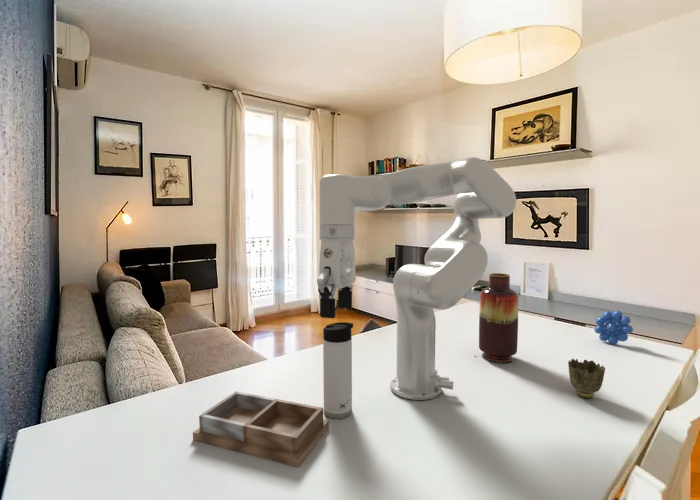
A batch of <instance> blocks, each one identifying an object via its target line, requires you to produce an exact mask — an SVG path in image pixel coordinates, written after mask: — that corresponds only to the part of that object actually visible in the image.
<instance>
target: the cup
mask: <svg viewBox="0 0 700 500" xmlns="http://www.w3.org/2000/svg"><path fill="white" fill-rule="evenodd" d="M578 360H579V359H578V358H576V359H574V358H571V359H569V360H568V362H567V363H568V374H569V381H570V384H571V385H572V386H573V388H574V389H575V393H576V395H577V396H578V397H580V398H582V399H587V400H591V399H593V398H594V397H595V393H597V392H599V391H600V390H601V388H602V386H603V382H604V377H605V372H606V367H605V366H604V365H603V364H602V365H600V363H599V362H598V363H596V362H595V361H593V360H587V359H584V360H583V362H582V361H578Z"/></svg>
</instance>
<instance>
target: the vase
mask: <svg viewBox="0 0 700 500" xmlns="http://www.w3.org/2000/svg"><path fill="white" fill-rule="evenodd" d="M488 276H489V277H488V278H489V279H488V287H486V288H484V289H482V290H481V291H480V293H479V316H478V319H479V320H478V322H479V323H478V348H479V350H481V352H483V353H482V354H481V357H482V358H483V359H484V360H486V361H488V362H491V363H494V364H495V363H497V364H509V363H510V364H511V363H512V362H513V361H514V357H513V356H514V355H516V354H517V352H518V338H519V337H518V334H519V302H520V301H519V298H520V297H519V294H518V293H517V291H515V290H514V289H512V288H511V285H510V284H511V282H510V281H511V279H510V278H511V277H510V276H511V275H510V274H508V273H501V272H499V273H497V272H496V273H494V272H493V273H489V275H488Z"/></svg>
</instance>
